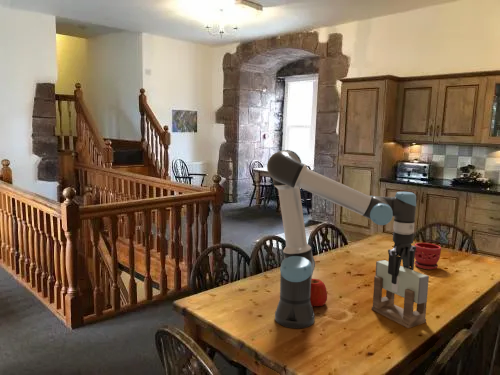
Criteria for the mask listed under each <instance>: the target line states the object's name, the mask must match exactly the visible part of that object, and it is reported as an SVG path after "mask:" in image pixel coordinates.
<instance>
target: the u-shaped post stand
mask: <svg viewBox="0 0 500 375" xmlns="http://www.w3.org/2000/svg"><path fill="white" fill-rule="evenodd" d="M382 284H383V278H381V277H379V276H375V275H374V281H373V292H372V294H373V295H372V306H371V310H372V311H373V312H375V313H377V314H380V315H382V316H384V317H385V318H388V319H389V320H391V321H393V322H396V323H398V324H399V325H401V326H403V327H404V328H407V329H410V328H413V327H416V326H419V325H422V324H424V323H426V322H427V319H426V314H427V302H428V301H427V302H425V303H421V304H417V303H416V310H414V304H415V302H414V292H415V291H412V290H410V289H405V297H403V298H404V299H403V307H401V306H398V305H396V304H395V295H396V294H394V293H392V292H390V291H388V290H385V291H386V292H385V293H386V294H385V296H382V295H383V288H382Z"/></svg>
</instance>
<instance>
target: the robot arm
mask: <svg viewBox="0 0 500 375" xmlns="http://www.w3.org/2000/svg"><path fill="white" fill-rule="evenodd" d="M266 169H267V173H268V175H269V176H270V178H272V182H273V186H274V188H276V189H277V191H278V197H279V204H280V211H281V218H282V219H281V220H282V226H283V232H284V240H285V247H284V249H283V250H282V253H283V259H282V260H281V264H280V268H279V272H280V283H279V288H280V289H279V291H280V292H279V300H278V304H277V307H276V310H275V312H274V320H275V322H276V323H277V324H278V325H281V326H282V327H285V328H289V329H304V328H309V327H311V326H312V325H313V324H314V323H315V312H314V309H313V306H312V305H311V301H310V297H311V279H313V278H312V277H313V275H314V271H315V267H316V261H315V259H314V256H313V251H312V247H311V245H310V244H308V241H307V234H306V226H305V225H306V224H305V220H304V212H303V205H302V198H301V189H302V190H304V191H306V192H308V193H312V194H313V195H316V196H317V197H320V198H322V199H325V200H327V201H329V202H331V203H333V204H335V205H338V206H340V207H342V208H345V209H347V210H349V211H351V212H354V213H355V214H358V215H361V216H362V217H365V218H366V219H369V220H371V222H373V223H374V224H375V225H377V226H378V225H379V226H385V225H388V224H389V223H390V222H391V221H392V219H393V227H392V230H393V232H392V241H393V243H394V245H393V248H392V249H387V254H388V260H387V261H388V274H390V275H392V291H394V292H397V293H398V291H399V277H400V276H398V273H399V269H400V266H401V264H402V267H405V268H408V269H411V270H413V271H415V270H414V268H415V260H416V259H415V251H416V247H415V245H412V244H413V243H414V237H415V223H416V214H417V213H416V211H417V194H415V193H414V192H412V191H397V192H395V195H394V196H377V195H369V194H366V193H364V192H361V191H359V190H357V189H355V188H352V187H351V186H348V185H345V184H343V183H342V182H338V181H336V180H334V179H332V178H330V177H328V176H326V175H323V174H320V173H319V172H316V171H314V170H312V169H309V168H308V167H307V165H306V164H305V163H303V162H302V159H301V157H300V156H299V155H298V154H297V152H295V151H293V150H291V149H290V150H289V149H283V150H279V151H277V152H275V153H273V154H272V155H271V156H270V157H269V158H268V160H267V165H266Z"/></svg>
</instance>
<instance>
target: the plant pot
mask: <svg viewBox="0 0 500 375" xmlns="http://www.w3.org/2000/svg"><path fill="white" fill-rule="evenodd" d="M414 246H415V247H416V251H415V259H414V266H416V267H417V268H419V269H424V270H435V269H437V268H438V267H439V265H438V262H439V260H440V257H441V252H442V247H441V246H440V245H437V244H434V243H429V242H428V243H427V242H417V243H415V244H414Z"/></svg>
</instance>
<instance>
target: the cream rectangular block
mask: <svg viewBox="0 0 500 375" xmlns="http://www.w3.org/2000/svg"><path fill="white" fill-rule="evenodd" d="M388 261H389V260H386V259H383V260H378V261H377V260H376V263H375V275H374V277H375V276H379V277H381V278H383V284H382V290H383V289H384V290H385V291H386V290H388V291H390V292H392V293H394V294H395V295H397V296H400V297H401V298H404V297H405V289H410V290H412V291H415V292H414V304H416V305H417V304H421V303H425V302H428V292H429V281H430V280H429V279H430V277H429V275H427V274H425V273H421V272H419V271H416V270H411V269H408V268H405V267H403V265H400V269H399V273H398V276H400V277H399V291H398V293H397V292H394V291H392V275H390V274H388Z"/></svg>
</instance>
